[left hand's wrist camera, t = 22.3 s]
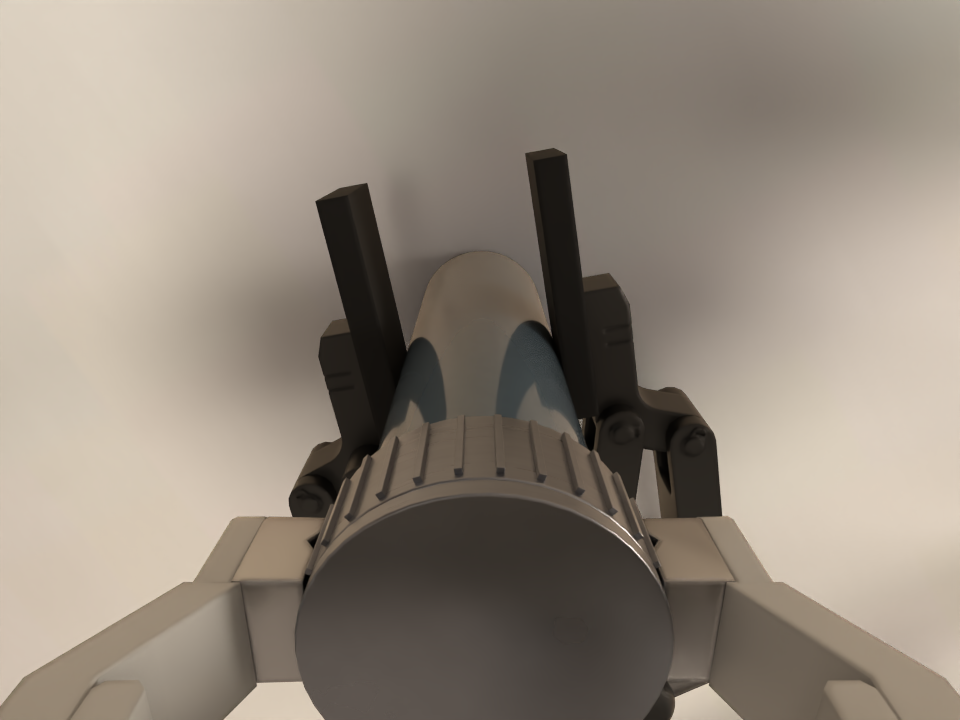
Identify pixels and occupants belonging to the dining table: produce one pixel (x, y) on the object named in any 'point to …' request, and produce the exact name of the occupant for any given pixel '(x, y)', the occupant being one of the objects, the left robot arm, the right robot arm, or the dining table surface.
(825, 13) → the dining table surface
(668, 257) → the dining table surface
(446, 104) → the dining table surface
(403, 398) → the grey cylinder
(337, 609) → the lid
